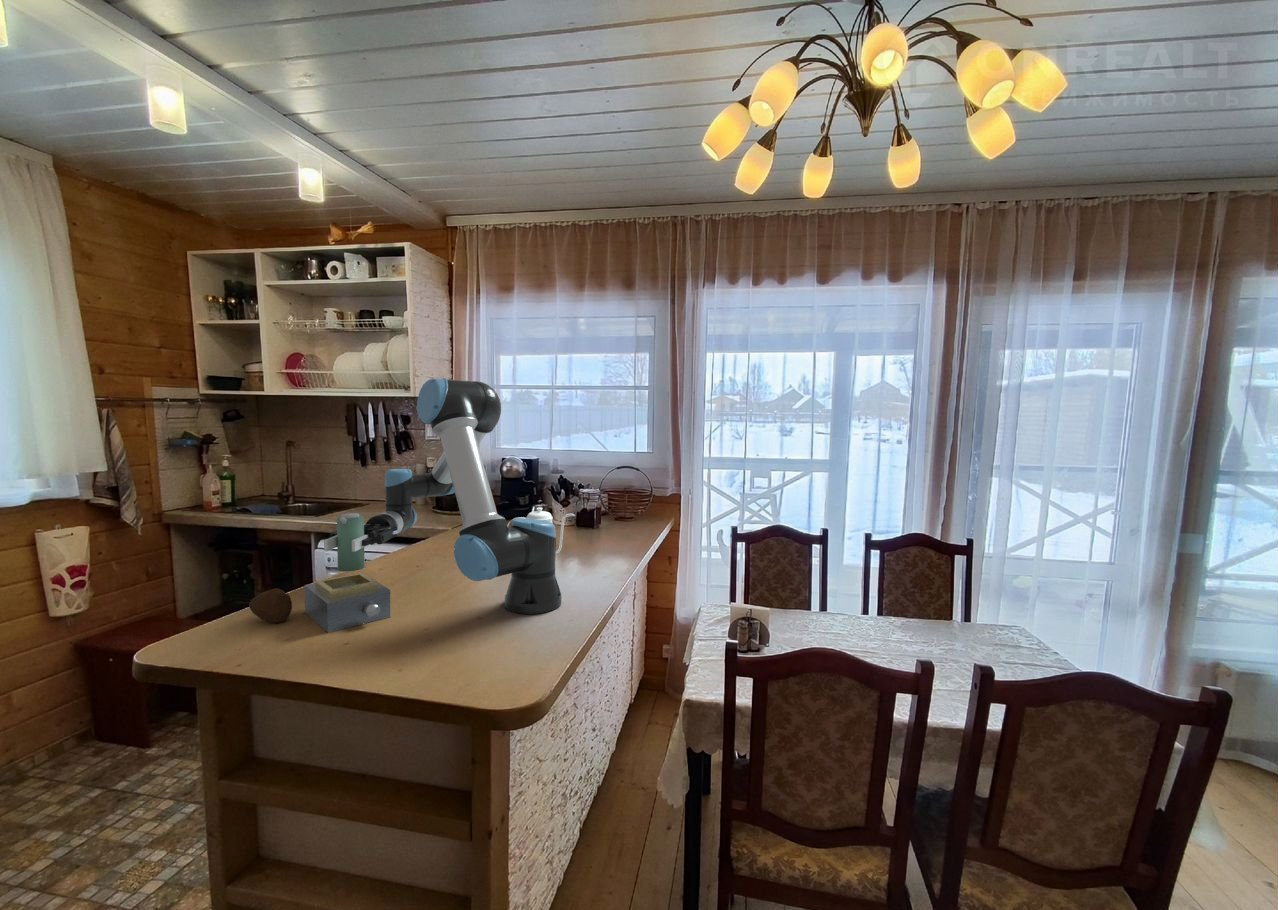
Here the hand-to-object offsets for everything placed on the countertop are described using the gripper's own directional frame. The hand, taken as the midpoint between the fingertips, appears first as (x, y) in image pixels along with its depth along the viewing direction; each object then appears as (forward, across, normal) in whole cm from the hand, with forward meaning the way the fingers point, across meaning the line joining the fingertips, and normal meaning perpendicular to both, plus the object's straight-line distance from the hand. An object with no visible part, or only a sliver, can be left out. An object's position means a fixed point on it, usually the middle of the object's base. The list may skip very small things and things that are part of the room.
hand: (339, 545), depth 127 cm
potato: (+2, +15, -19) cm, 24 cm away
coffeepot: (-56, -40, -18) cm, 71 cm away
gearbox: (-2, -1, -18) cm, 18 cm away
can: (-5, 0, -7) cm, 9 cm away
